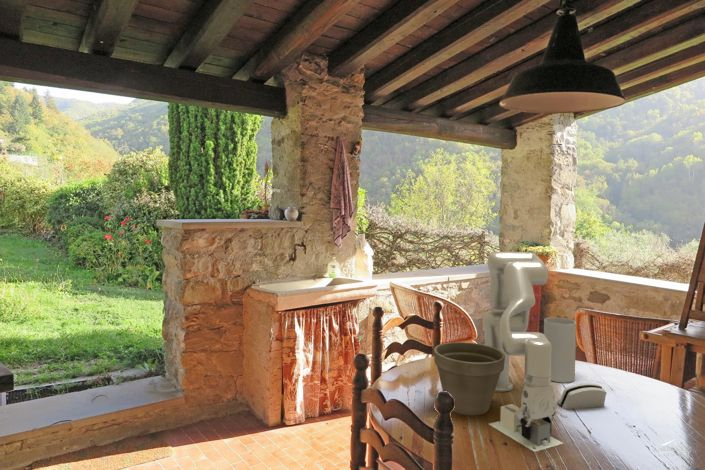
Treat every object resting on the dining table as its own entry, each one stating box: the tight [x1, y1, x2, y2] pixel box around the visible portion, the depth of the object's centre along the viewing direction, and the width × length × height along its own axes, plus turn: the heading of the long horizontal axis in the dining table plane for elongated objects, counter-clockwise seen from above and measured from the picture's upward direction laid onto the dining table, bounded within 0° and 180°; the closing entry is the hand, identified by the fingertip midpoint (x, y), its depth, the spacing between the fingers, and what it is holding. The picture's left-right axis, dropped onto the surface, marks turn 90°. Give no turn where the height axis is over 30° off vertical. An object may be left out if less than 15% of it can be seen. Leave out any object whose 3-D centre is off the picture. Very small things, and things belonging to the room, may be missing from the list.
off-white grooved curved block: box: [556, 382, 607, 410], centre depth 172 cm, size 17×5×10 cm, turn 100°
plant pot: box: [433, 341, 505, 416], centre depth 169 cm, size 25×25×22 cm
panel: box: [488, 420, 564, 453], centre depth 149 cm, size 20×12×2 cm, turn 25°
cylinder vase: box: [543, 317, 577, 384], centre depth 201 cm, size 12×12×25 cm
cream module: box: [499, 403, 523, 432], centre depth 154 cm, size 6×5×6 cm
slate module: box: [523, 417, 551, 446], centre depth 145 cm, size 6×5×6 cm
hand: (536, 434), depth 145 cm, fingers open, 8 cm apart
